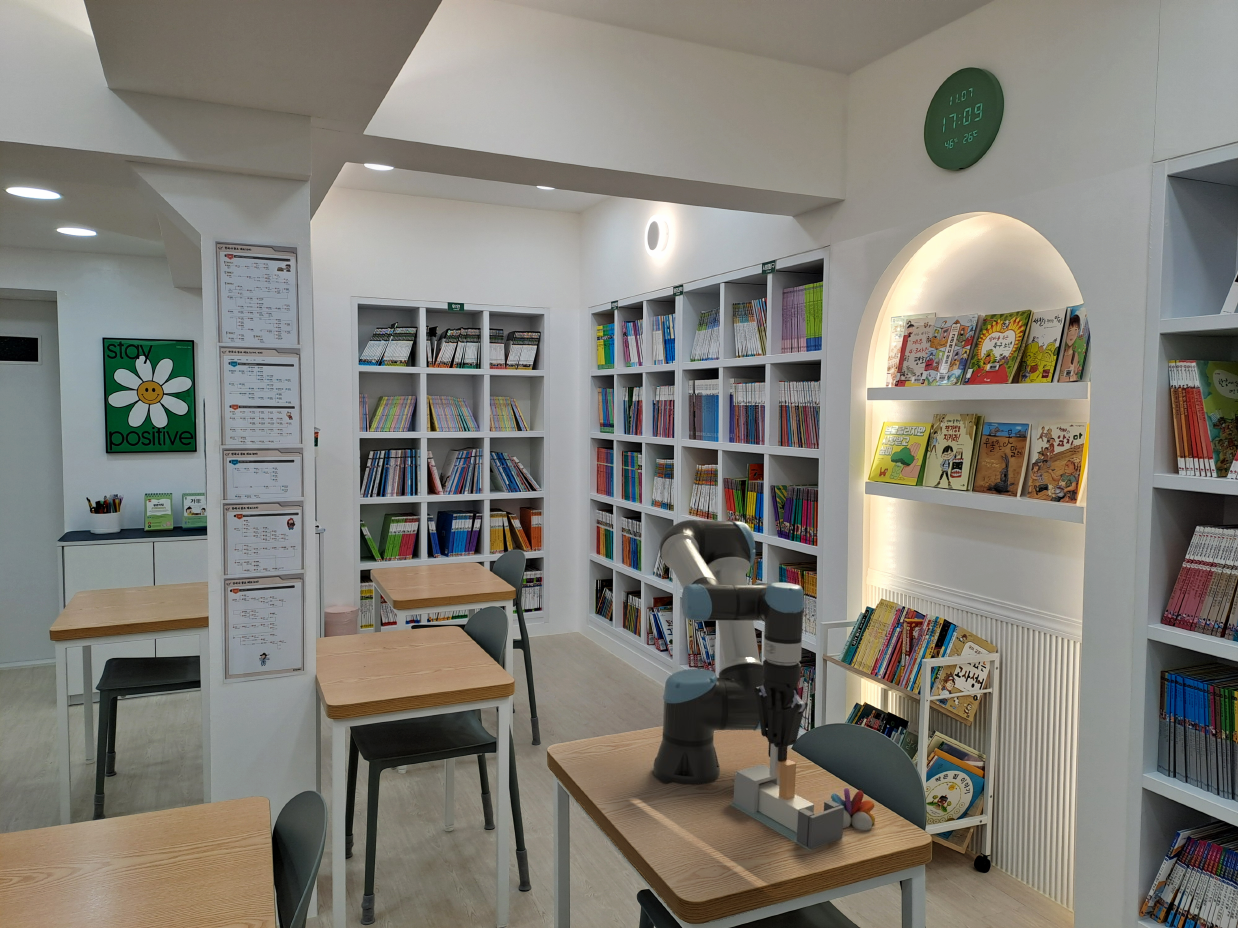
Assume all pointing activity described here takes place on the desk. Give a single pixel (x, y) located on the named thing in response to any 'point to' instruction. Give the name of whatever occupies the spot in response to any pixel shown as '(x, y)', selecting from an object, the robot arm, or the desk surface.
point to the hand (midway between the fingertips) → (776, 774)
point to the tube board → (810, 826)
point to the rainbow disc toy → (855, 810)
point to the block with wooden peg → (783, 798)
